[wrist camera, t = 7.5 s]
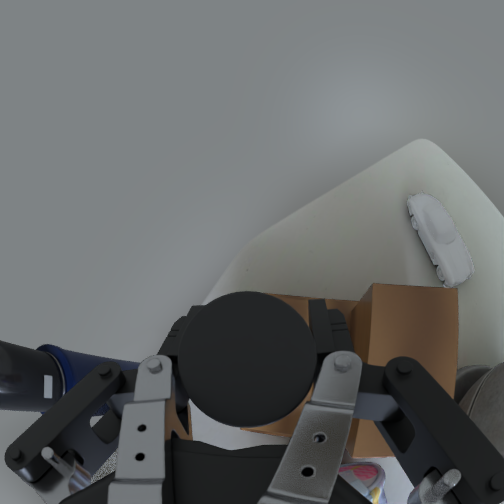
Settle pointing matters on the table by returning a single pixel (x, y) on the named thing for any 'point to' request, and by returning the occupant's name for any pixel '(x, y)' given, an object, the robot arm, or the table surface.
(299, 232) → the table surface
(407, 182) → the table surface
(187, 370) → the black canister
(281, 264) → the table surface
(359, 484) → the pencil case
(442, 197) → the table surface
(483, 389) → the webcam
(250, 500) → the robot arm
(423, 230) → the toy car
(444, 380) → the step shelf
